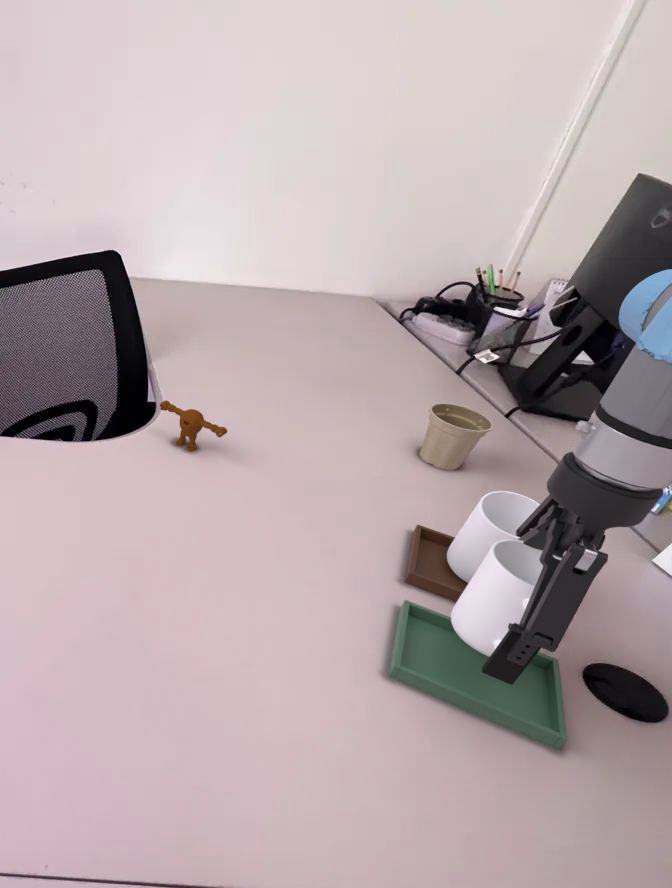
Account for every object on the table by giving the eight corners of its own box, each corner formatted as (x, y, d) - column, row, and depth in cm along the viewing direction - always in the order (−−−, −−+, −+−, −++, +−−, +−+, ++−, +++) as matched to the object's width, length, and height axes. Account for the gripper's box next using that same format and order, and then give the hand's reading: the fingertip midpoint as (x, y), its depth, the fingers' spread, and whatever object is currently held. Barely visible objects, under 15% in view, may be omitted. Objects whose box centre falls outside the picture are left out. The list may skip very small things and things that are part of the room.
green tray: (549, 671, 77) (558, 659, 76) (556, 752, 68) (567, 740, 67) (398, 611, 83) (405, 599, 82) (387, 677, 74) (394, 666, 73)
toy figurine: (148, 436, 112) (156, 400, 108) (161, 428, 114) (169, 393, 111) (210, 467, 106) (221, 430, 102) (222, 459, 108) (233, 422, 104)
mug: (506, 624, 83) (550, 573, 76) (433, 594, 86) (470, 542, 79) (517, 559, 90) (559, 507, 83) (450, 534, 93) (484, 481, 86)
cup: (528, 625, 76) (578, 558, 70) (538, 702, 67) (596, 632, 61) (448, 596, 78) (490, 529, 73) (447, 666, 69) (494, 595, 64)
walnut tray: (541, 581, 90) (548, 570, 89) (546, 639, 81) (555, 627, 80) (411, 535, 96) (417, 524, 95) (403, 584, 87) (409, 572, 86)
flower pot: (396, 448, 116) (417, 404, 111) (438, 443, 119) (460, 400, 114) (437, 479, 109) (462, 433, 104) (481, 473, 112) (507, 428, 107)
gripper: (557, 403, 70) (461, 559, 82) (579, 522, 52) (453, 698, 64) (643, 427, 67) (531, 585, 79) (698, 561, 49) (543, 737, 61)
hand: (496, 636), depth 72 cm, fingers closed on cup, 12 cm apart
